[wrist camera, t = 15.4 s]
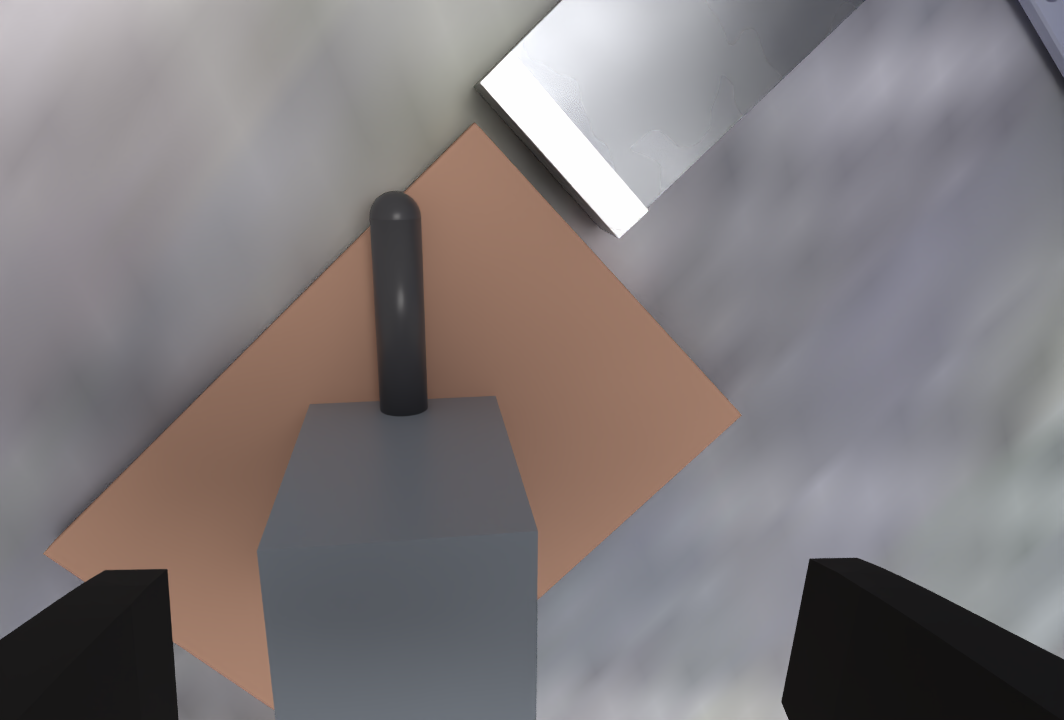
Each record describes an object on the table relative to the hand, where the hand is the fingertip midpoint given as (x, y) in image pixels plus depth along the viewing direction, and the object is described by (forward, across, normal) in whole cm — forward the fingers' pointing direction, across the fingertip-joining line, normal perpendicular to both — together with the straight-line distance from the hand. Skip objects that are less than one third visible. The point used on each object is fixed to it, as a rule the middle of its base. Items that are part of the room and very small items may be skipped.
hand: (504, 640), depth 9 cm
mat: (+9, +1, +2) cm, 10 cm away
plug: (+9, +1, 0) cm, 9 cm away
